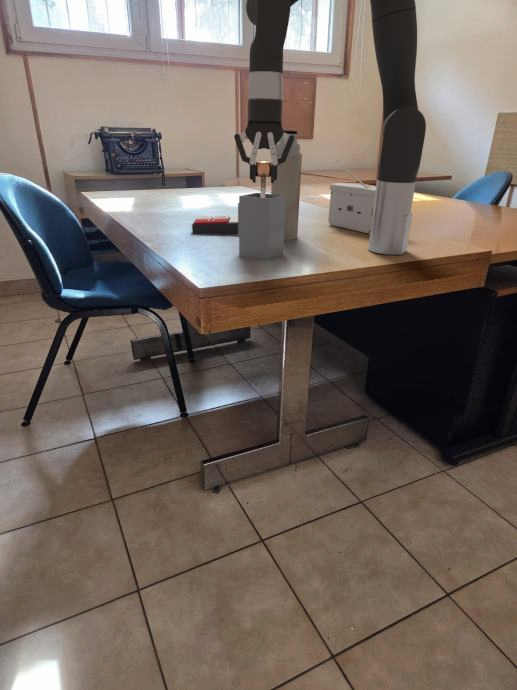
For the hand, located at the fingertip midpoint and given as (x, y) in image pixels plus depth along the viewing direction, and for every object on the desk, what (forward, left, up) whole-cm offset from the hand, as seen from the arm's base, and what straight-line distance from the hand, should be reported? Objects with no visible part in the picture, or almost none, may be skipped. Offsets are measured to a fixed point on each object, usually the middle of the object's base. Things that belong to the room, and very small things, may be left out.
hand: (263, 182), depth 104 cm
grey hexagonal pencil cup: (+1, 0, -17) cm, 17 cm away
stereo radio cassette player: (-9, -46, -17) cm, 50 cm away
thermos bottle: (+5, -22, -17) cm, 28 cm away
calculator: (+25, -19, -18) cm, 36 cm away
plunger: (0, 0, -16) cm, 16 cm away
